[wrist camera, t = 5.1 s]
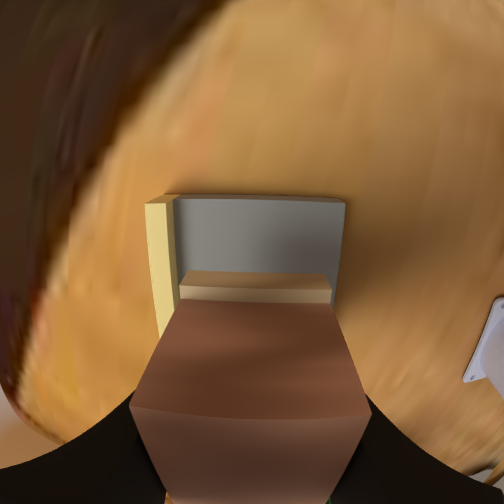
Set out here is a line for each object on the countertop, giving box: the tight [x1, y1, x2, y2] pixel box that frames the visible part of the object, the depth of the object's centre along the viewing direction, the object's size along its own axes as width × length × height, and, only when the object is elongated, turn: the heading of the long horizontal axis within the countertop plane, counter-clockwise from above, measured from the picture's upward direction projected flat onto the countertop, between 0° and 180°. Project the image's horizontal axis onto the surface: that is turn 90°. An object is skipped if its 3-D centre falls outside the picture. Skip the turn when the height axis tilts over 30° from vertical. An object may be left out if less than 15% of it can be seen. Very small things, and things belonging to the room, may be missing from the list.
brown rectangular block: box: [129, 270, 372, 504], centre depth 8 cm, size 4×6×6 cm
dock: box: [145, 194, 346, 338], centre depth 15 cm, size 9×10×3 cm
